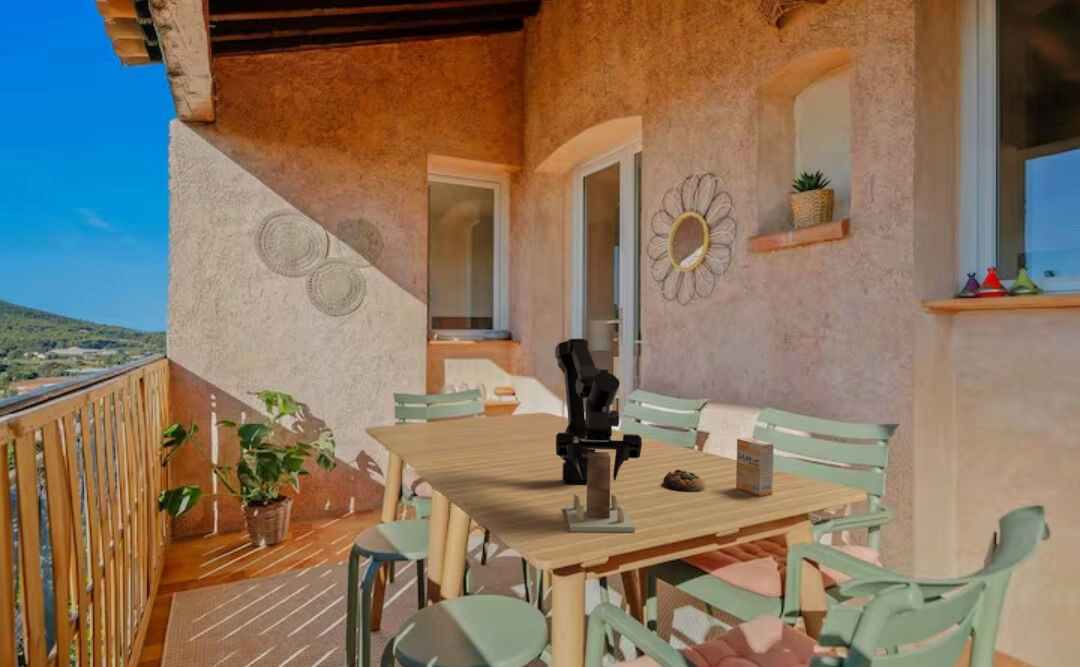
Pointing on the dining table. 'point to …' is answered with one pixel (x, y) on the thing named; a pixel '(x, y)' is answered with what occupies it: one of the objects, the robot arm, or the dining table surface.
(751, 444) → the supplement box
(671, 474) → the bread roll
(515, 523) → the dining table surface
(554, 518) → the dining table surface
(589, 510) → the walnut block
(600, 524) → the pin plate
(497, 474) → the dining table surface
